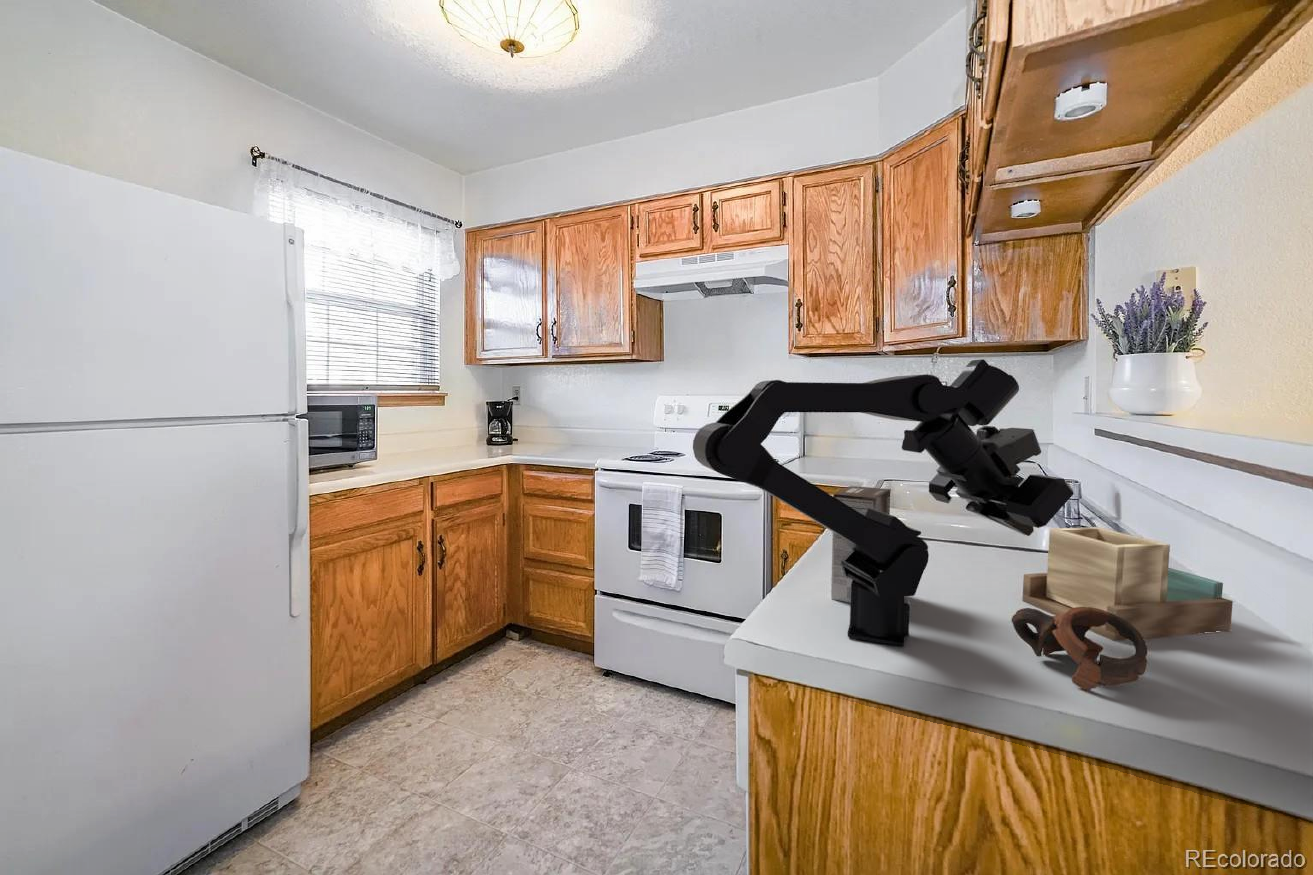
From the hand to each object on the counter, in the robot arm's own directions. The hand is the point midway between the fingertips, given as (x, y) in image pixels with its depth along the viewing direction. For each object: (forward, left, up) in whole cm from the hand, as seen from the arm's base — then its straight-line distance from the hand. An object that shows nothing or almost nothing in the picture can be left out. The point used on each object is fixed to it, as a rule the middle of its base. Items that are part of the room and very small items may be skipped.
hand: (1029, 532), depth 74 cm
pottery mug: (+2, -13, -12) cm, 19 cm away
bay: (+12, +8, -12) cm, 19 cm away
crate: (+10, +7, -11) cm, 16 cm away
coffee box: (-21, +2, -12) cm, 24 cm away
